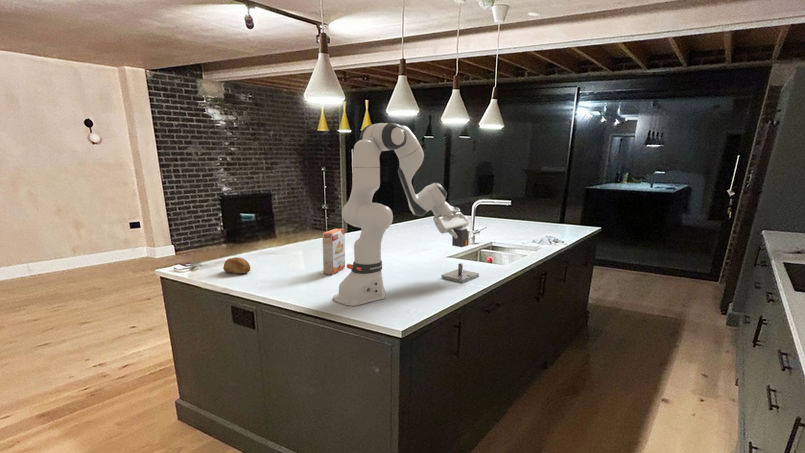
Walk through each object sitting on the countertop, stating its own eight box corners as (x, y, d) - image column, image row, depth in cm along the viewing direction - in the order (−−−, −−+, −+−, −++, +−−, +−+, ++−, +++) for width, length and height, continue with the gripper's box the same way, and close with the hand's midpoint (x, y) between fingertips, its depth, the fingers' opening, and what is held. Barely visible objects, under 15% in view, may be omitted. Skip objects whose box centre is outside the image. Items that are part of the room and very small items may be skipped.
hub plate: (462, 283, 180) (462, 269, 179) (441, 277, 188) (441, 264, 187) (478, 276, 191) (479, 263, 189) (458, 271, 199) (458, 259, 197)
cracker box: (334, 275, 194) (332, 233, 190) (323, 274, 196) (321, 232, 192) (346, 267, 207) (345, 228, 204) (335, 266, 209) (334, 228, 205)
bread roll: (241, 277, 192) (240, 261, 191) (218, 274, 198) (216, 258, 196) (255, 272, 201) (254, 256, 200) (232, 269, 206) (231, 254, 205)
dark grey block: (463, 247, 183) (463, 230, 181) (452, 245, 187) (452, 229, 185) (469, 245, 187) (469, 228, 185) (458, 243, 191) (459, 227, 189)
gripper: (435, 212, 181) (452, 236, 176) (460, 207, 196) (477, 229, 191) (427, 221, 185) (444, 244, 180) (453, 215, 200) (469, 237, 195)
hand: (461, 236), depth 186 cm, fingers closed on dark grey block, 5 cm apart
